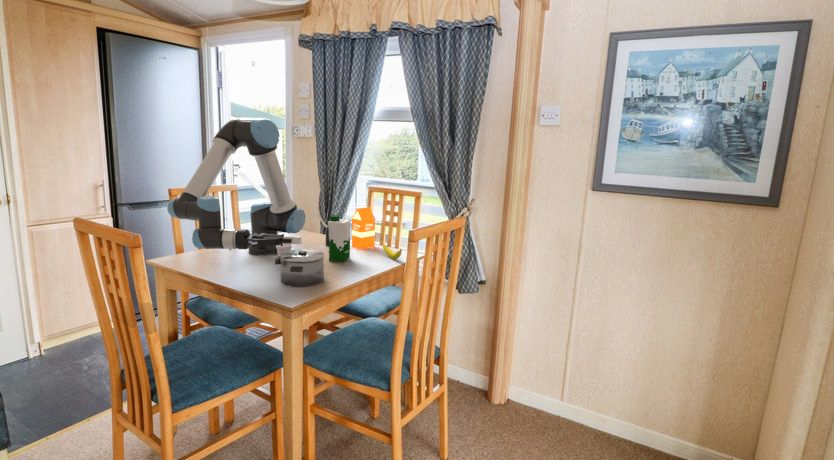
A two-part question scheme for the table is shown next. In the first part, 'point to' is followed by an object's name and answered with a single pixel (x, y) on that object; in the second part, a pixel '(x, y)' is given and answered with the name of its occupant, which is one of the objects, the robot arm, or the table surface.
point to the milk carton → (339, 239)
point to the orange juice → (363, 228)
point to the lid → (302, 256)
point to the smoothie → (283, 249)
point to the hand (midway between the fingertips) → (300, 240)
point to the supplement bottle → (327, 236)
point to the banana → (391, 252)
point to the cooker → (301, 273)
